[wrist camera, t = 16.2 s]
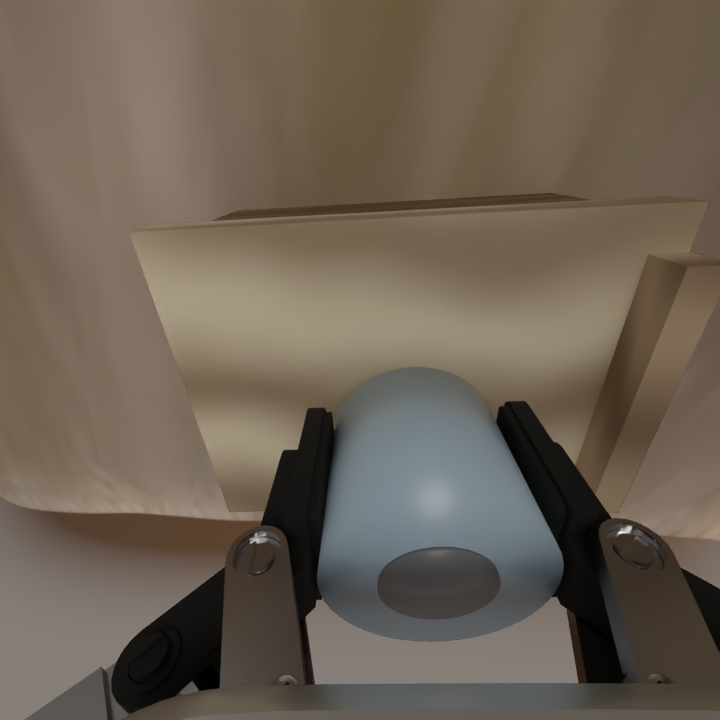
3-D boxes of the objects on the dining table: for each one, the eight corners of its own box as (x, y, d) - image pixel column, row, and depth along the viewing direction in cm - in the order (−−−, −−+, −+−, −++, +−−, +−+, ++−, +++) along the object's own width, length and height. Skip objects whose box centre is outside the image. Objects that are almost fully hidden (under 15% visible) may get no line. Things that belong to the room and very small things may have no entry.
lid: (156, 223, 12) (95, 242, 9) (667, 195, 11) (762, 207, 9) (239, 485, 18) (217, 541, 16) (570, 477, 18) (607, 534, 15)
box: (238, 210, 18) (174, 234, 12) (551, 193, 18) (648, 209, 12) (277, 398, 24) (246, 478, 18) (512, 390, 24) (564, 470, 17)
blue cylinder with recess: (327, 369, 11) (301, 509, 6) (502, 364, 10) (598, 504, 6) (340, 489, 13) (328, 646, 9) (481, 486, 13) (538, 645, 9)
